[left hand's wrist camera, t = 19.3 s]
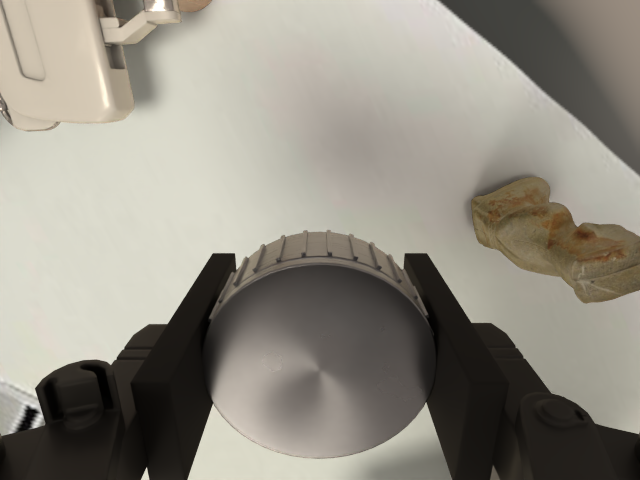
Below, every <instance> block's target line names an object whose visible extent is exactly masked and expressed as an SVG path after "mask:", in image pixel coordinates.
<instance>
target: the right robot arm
mask: <svg viewBox="0 0 640 480" xmlns="http://www.w3.org/2000/svg"><path fill="white" fill-rule="evenodd" d="M143 2H144V8H145V10H142V11H141V12H140V13H138V14H137V15H136V16H135V17H133V18H132V19H131V20H130V21H127V20H123V19H120V18H117V17H116V14H115V9H114V5H113V0H0V111H1V113H2V115H3V116H4V118H5V119H6V120H7V121H8V122H9V123H10V124H11V125H13V126H14V127H15V128H17V129H20V130H23V131H46V130H51V129H53V128H55V127H57V126H58V125H59V124H60V122H66V123H110V122H116V121H120V120H123V119H125V118H126V117H127V116H128V115H129V114H130V113H131V112H132V110H133V109H134V107H135V105H134V99H133V94H132V89H131V85H130V80H129V75H128V71H127V66H126V61H125V56H124V52H123V47H122V45H126V44H137V43H138V42H139V41H140V40H142V39H143V38H144V37H145V36H146V35H148V34H149V33H150V32H151V31H152V30H153V29H155V28H156V27H157V24H168V23H179V22H182V20H181V14H180V8H179V2H178V0H143ZM8 110H9V112H8ZM9 113H10V114H9Z"/></svg>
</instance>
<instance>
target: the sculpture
mask: <svg viewBox="0 0 640 480" xmlns="http://www.w3.org/2000/svg"><path fill="white" fill-rule="evenodd" d="M549 195H550V187H549V185H548V183H547V182H546V181H545V180H543V179H542V178H538V177H528V178H524V179H520V180H517V181H515V182H513V183H510V184H508V185H506V186H504V187H502V188H500V189H498V190H496V191H494V192H492V193H490V194H487V195H484V196H481V195H480V196H477V197H475V198H473V199H472V201H471V208H472V218H473V224H474V230H475V234H476V237H477V240H478V241H479V243H480V244H483V245H484V246H485V247H488V248H492V249H497V250H499V251H501V252H502V253H503V254H504V255H505V256H506V257H507V258H508V259H509V260H511V261H512V262H513V263H514V264H515V265H517V266H518V267H519V268H521V269H524V270H528V271H532V272H536V273H541V274H545V275H551V276H558V277H562V278H563V280H564V281H565V282H566V283H567V284H569V285H570V286H571V287H572V288H574V291H575V294H576V295H577V297H578V298H579V299H580V300H581V301H582V302H583V303H591V302H603V301H608V300H612V299H615V298H618V297H621V296H623V295H626V294H629V293H632V292H635V291H638V290H640V237H639V236H637V235H636V234H634V233H632V232H630V231H628V230H626V229H625V228H623V227H622V226H620V225H615V224H602V225H599V224H593V223H582V224H581V225H580V226H579V227H577V226H576V225H575V224H574V221H573V219H572V216H571V213H570V212H569V210H568V209H567V208H566V207H565V206H564V205H561V204H559V203H553V202H552V203H549Z"/></svg>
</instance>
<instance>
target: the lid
mask: <svg viewBox="0 0 640 480" xmlns="http://www.w3.org/2000/svg"><path fill="white" fill-rule="evenodd" d="M427 318H429V315H428V313H427V311H426V309H425V307H424V304H423V302H422V300H421V298H420V296H419V294H418V292H417V290H416V288H415V286H413V285H412V283H411V281H410V279H409V276H408V274H407V272H406V270H405V269H403V270H401V269H400V267H399V266H398V265H397V264H396V263H395V262H394V260H393V257H392V255H390V254H389V255H388V256H387V255H386V254H385V253H384V252H382V251H381V250H379V249H378V248H376V247H375V245H374V243H372V242H370V244H369V243H367V242H365V241H363V240H360V239H357V238H354V236H353V234H349V236H348V235H343V234H338V233H331V230H327V232H308V231H307V230H306V231H303V233H301V234H296V235H291V236H288V237H285V235H283V236H281V239H278V240H276V241H274V242H272V243H270V244H268V245H266V246H265V245H264V244H263V245H261V247H260V249H259V250H258V251H256V252H255V253H254V254H253V255H251V256H250V257H249V258H247V257H245V258H244V259H243V261H242V264H241V266H240V267H239V268H238V269H237V271H236V272H235V273H233V272H232V273H231V274H230V276H229V279H228V281H227V283H226V285H225V287H224V289H223V290H222V292H221V294H220V296H219V298H218V300H217V302H216V304H215V306H214V308H213V311H212V313H211V315H210V317H209V319H208V322H211V323H210V325H209V327H208V329H207V331H206V335H205V338H204V342H203V347H202V363H203V372H204V380H205V386H206V389H207V391H208V394H209V396H210V398H211V400H212V402H213V404H214V406H215V407H216V408H217V410H218V411H219V413H220V414H221V415H222V417H223V418H224V419H225V420H226V421H227V422H228V423H229V424H230V425H231V426H232V427H233V428H235V429H236V430H237V431H238V432H239V433H241V434H242V435H243V436H245V437H247V438H248V439H250V440H251V441H253V442H255V443H257V444H259V445H261V446H263V447H265V448H268V449H270V450H273V451H276V452H279V453H283V454H286V455H290V456H296V457H303V458H318V459H319V458H335V457H342V456H348V455H352V454H356V453H360V452H363V451H366V450H368V449H371V448H374V447H376V446H378V445H380V444H382V443H384V442H386V441H387V440H389V439H391V438H392V437H394V436H395V435H397V434H398V433H399V432H400V431H402V430H403V429H404V428H405V427H407V426H408V425H409V424H410V423H411V421H412V420H413V419H414V418H415V417H416V416H417V415H418V413H419V412H420V411H421V409H422V408H423V407H424V405H425V403H426V401H427V399H428V397H429V396H430V393H431V390H432V388H433V385H434V381H435V376H436V368H437V350H436V343H435V340H434V333H433V331H432V329H431V327H430V325H429V323H428V320H427Z"/></svg>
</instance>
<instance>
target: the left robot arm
mask: <svg viewBox="0 0 640 480" xmlns="http://www.w3.org/2000/svg"><path fill="white" fill-rule="evenodd" d="M404 269H405V270H406V272H407V274H408V276H409V279H410V281H411V283H412V285H413V286H415V288H416V290H417V292H418V294H419V296H420V298H421V300H422V302H423V304H424V307H425V309H426V311H427V313H428V315H429V318H427V320H428V323H429V325H430V327H431V329H432V331H433V333H434V340H435V343H436V350H437V368H436V376H435V381H434V385H433V388H432V390H431V393H430V396H429V397H428V399H427V401H426V402H427V405H428V408H429V411H430V414H431V417H432V420H433V423H434V426H435V429H436V432H437V435H438V438H439V441H440V444H441V447H442V450H443V453H444V456H445V459H446V462H447V465H448V468H449V471H450V474H451V477H452V480H640V433H639V434H635V433H631V432H626V431H622V430H618V429H613V428H609V427H605V426H601V425H598V424H595V423H594V421H593V420H592V419H591V417H590V416H589V414H588V413H587V412H586V411H585V410H583V409H582V408H581V407H580V406H579V405H577V404H576V403H574V402H572V401H570V400H568V399H566V398H564V397H562V396H559V395H555V394H552V393H551V392H550V391H549V390H548V388H547V387H546V386H545V384H544V383H543V382H542V380H541V379H540V378H539V376H538V375H537V374H536V372H535V371H534V370H533V368H532V367H531V366H530V364H529V363H528V362H527V360H526V359H523V355H522V354H521V352H520V351H519V350H518V349H517V348H516V347H515V345H514V343H513V342H512V341H511V339H510V338H509V337H508V335H507V334H506V333H505V332H503V331H502V330H500V329H499V328H497V327H496V326H494V325H493V324H492V323H471V322H470V320H469V319H468V317H467V316H466V314H465V312H464V311H463V309H462V308H461V306H460V305H459V303H458V301H457V300H456V298H455V297H454V295H453V294H452V292H451V290H450V289H449V287H448V286H447V284H446V283H445V281H444V280H443V278H442V276H441V275H440V273H439V272H438V270H437V269H436V267H435V265H434V264H433V262H432V261H431V259H430V258H429V256H428V254H427V253H405V257H404ZM232 272H233V273H235V272H236V261H235V253H213V254H212V256H211V257H210V259H209V260H208V262H207V263H206V265H205V267H204V268H203V270H202V271H201V273H200V274H199V276H198V278H197V279H196V281H195V282H194V284H193V285H192V287H191V288H190V290H189V292H188V293H187V295H186V296H185V298H184V299H183V301H182V303H181V304H180V306H179V307H178V309H177V310H176V312H175V314H174V315H173V317H172V318H171V320H170V321H169V323H168V324H149V325H147V326H146V327H144V328H143V329H142V330H140V331H139V332H137V333H136V334H134V335H133V337H132V338H131V339H130V341H129V342H128V343H127V345H126V346H125V349H124V350H122V351H121V353H120V354H119V355H118V357H117V360H115V361H114V362H113V363H112V365H110V364H109V363H107V362H105V361H100V360H83V361H79V362H75V363H71V364H68V365H66V366H64V367H61V368H59V369H57V370H55V371H53V372H52V373H50V374H49V375H48V376H46V377H45V378H43V379H42V380H41V382H40V383H39V384H38V385H37V387H36V388H35V390H36V393H37V397H38V400H39V403H40V406H41V410H42V413H43V416H44V420H45V423H46V424H45V426H41V427H38V428H34V429H30V430H26V431H21V432H17V433H13V434H8V435H4V436H1V434H0V480H141V478H142V476H143V474H144V471H145V469H146V467H147V469H148V474H149V479H150V480H187V479H188V476H189V473H190V470H191V467H192V464H193V461H194V458H195V455H196V452H197V449H198V446H199V443H200V440H201V437H202V434H203V431H204V428H205V425H206V422H207V419H208V416H209V414H210V411H211V408H212V405H213V402H212V400H211V398H210V396H209V394H208V391H207V389H206V386H205V380H204V372H203V363H202V347H203V342H204V338H205V335H206V331H207V329H208V327H209V325H210V323H211V322H208V319H209V317H210V315H211V313H212V311H213V308H214V306H215V304H216V302H217V300H218V298H219V296H220V294H221V292H222V290H223V289H224V287H225V285H226V283H227V281H228V279H229V276H230V274H231V273H232Z"/></svg>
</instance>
